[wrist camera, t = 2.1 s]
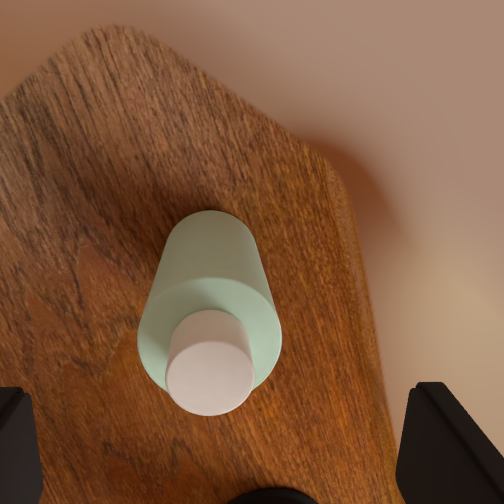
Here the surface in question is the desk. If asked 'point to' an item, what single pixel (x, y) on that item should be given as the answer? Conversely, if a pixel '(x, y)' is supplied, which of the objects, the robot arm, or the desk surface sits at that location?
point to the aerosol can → (274, 497)
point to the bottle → (209, 316)
